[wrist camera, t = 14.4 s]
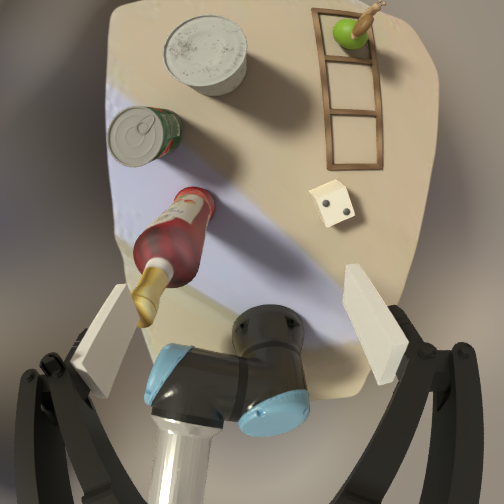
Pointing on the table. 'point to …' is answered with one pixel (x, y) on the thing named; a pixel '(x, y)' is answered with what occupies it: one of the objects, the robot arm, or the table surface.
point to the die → (332, 202)
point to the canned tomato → (143, 135)
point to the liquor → (171, 250)
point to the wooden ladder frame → (347, 111)
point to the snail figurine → (355, 29)
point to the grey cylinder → (207, 54)
